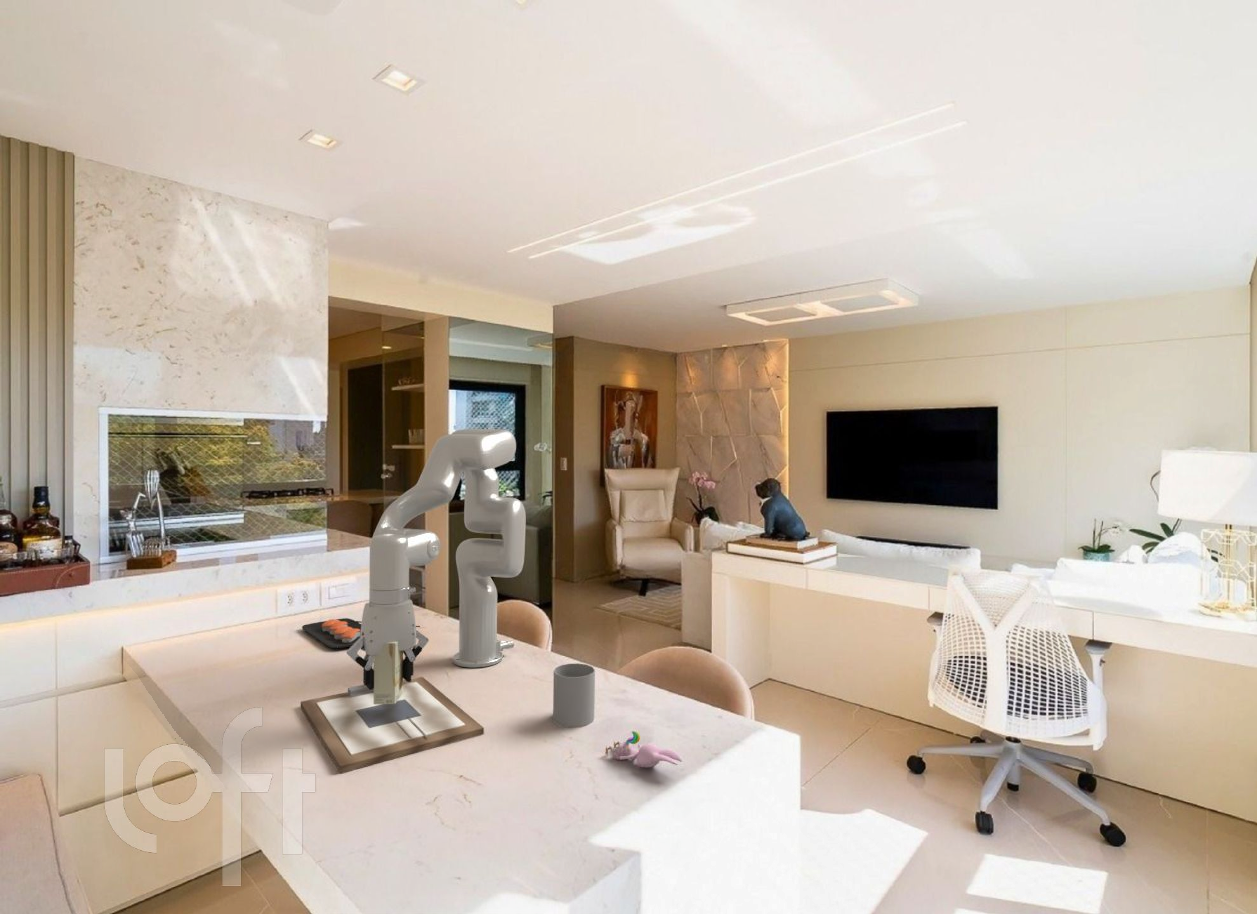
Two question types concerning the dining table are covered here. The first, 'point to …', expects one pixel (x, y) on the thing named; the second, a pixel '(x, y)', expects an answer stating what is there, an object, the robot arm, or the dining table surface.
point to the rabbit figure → (642, 752)
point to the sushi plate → (335, 632)
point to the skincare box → (388, 674)
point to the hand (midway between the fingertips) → (388, 683)
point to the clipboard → (386, 724)
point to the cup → (574, 695)
